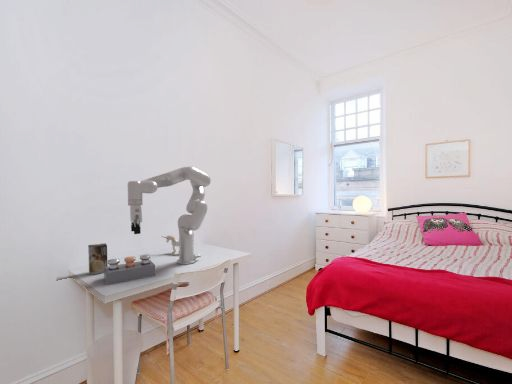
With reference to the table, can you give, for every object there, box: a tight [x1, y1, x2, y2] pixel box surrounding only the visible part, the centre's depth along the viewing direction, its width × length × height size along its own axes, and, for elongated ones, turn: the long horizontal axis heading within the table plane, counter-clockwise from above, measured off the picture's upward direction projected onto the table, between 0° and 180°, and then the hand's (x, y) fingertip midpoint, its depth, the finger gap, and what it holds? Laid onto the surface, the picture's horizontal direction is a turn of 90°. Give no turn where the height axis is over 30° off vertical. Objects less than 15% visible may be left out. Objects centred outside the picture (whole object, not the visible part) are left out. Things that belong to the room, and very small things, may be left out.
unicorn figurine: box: [161, 234, 179, 254], centre depth 195 cm, size 7×20×13 cm, turn 87°
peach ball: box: [124, 256, 137, 268], centre depth 145 cm, size 6×6×6 cm
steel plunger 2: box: [139, 254, 151, 265], centre depth 150 cm, size 6×6×6 cm
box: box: [103, 259, 156, 285], centre depth 145 cm, size 24×12×6 cm, turn 125°
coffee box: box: [87, 242, 109, 276], centre depth 152 cm, size 9×6×16 cm
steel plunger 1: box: [107, 258, 121, 270], centre depth 141 cm, size 6×6×6 cm
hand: (135, 232), depth 149 cm, fingers open, 9 cm apart
